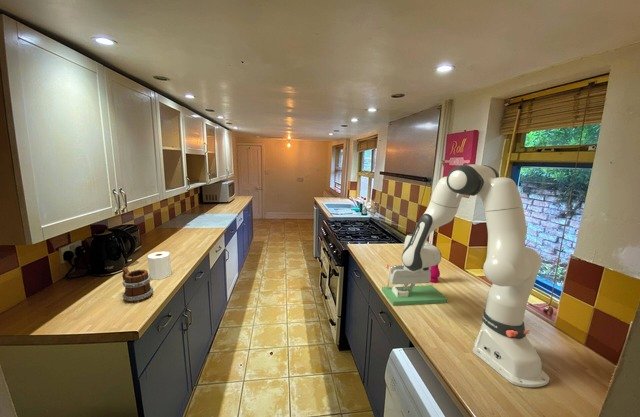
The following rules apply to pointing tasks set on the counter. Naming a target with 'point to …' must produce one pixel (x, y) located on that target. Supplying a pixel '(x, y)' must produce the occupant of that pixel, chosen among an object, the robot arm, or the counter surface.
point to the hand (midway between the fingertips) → (408, 291)
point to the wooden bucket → (136, 285)
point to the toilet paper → (159, 265)
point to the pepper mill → (434, 274)
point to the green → (413, 294)
